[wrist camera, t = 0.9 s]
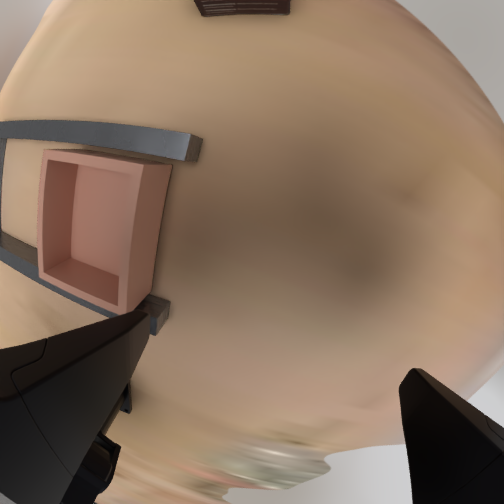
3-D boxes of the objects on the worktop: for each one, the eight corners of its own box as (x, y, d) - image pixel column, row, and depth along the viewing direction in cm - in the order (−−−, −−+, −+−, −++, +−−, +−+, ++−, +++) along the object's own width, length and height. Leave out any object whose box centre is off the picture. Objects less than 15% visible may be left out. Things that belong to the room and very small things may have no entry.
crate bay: (168, 318, 19) (155, 336, 17) (-5, 240, 19) (-20, 246, 17) (202, 138, 15) (191, 134, 13) (3, 122, 16) (-14, 122, 13)
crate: (151, 290, 19) (126, 317, 15) (70, 259, 19) (39, 277, 15) (172, 164, 16) (143, 164, 12) (80, 149, 16) (43, 149, 12)
